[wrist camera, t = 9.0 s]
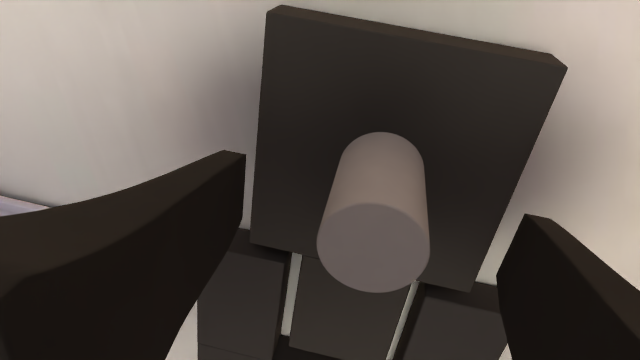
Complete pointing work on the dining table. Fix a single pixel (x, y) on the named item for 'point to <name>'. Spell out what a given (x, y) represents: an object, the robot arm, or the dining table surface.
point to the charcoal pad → (277, 356)
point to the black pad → (390, 93)
